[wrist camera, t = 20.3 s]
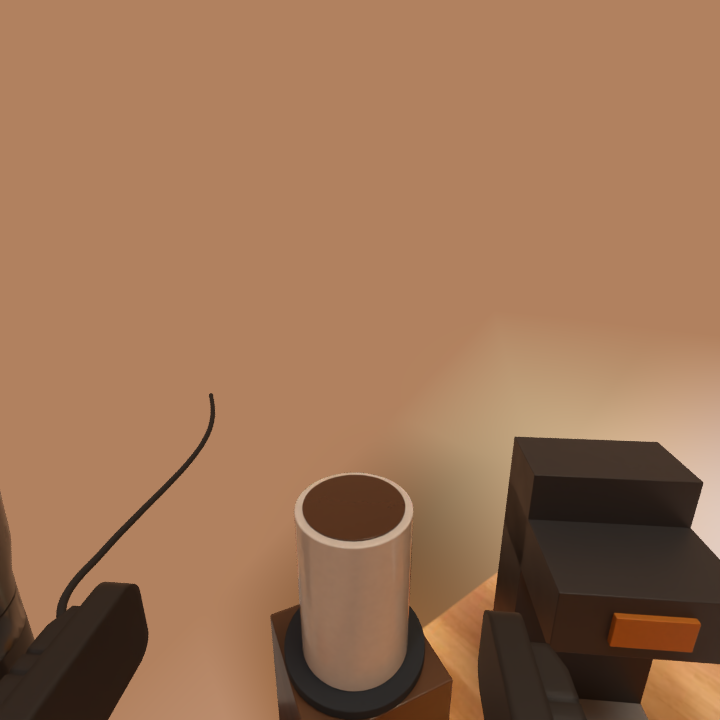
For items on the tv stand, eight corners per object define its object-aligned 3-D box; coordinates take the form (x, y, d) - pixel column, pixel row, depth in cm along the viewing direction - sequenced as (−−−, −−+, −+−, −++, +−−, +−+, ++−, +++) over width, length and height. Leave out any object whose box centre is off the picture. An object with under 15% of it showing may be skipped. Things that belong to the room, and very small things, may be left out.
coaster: (270, 614, 27) (269, 606, 27) (384, 572, 30) (384, 566, 30) (309, 751, 20) (309, 742, 20) (453, 679, 23) (454, 671, 23)
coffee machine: (714, 868, 30) (833, 595, 22) (533, 848, 31) (589, 580, 23) (608, 648, 45) (657, 441, 37) (489, 639, 46) (514, 436, 38)
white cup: (289, 614, 26) (281, 485, 24) (378, 582, 29) (380, 461, 26) (322, 712, 21) (316, 562, 18) (428, 663, 23) (437, 523, 21)
